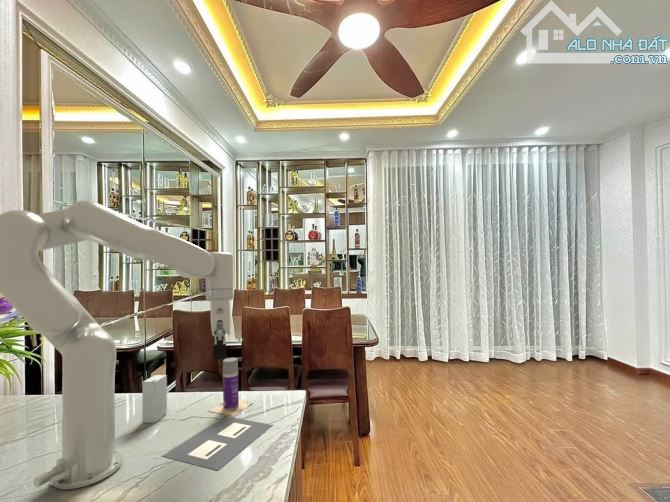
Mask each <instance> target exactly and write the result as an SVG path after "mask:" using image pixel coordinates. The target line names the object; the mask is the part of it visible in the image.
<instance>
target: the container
mask: <svg viewBox="0 0 670 502" xmlns="http://www.w3.org/2000/svg"><path fill="white" fill-rule="evenodd" d="M238 363H239V362H238V358H237V357H228V358H227V357H226V358H225V359H222V396H223V397H222V399H223V402H222V403H223V408H224V409H225V410H233V409H236V408H237V407H238V406H239V399H240V398H239V367H238V366H239V365H238Z"/></svg>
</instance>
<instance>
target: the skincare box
mask: <svg viewBox="0 0 670 502" xmlns="http://www.w3.org/2000/svg"><path fill="white" fill-rule="evenodd" d="M167 376H168V375H167V374H157V375H156V374H154V375H152V376H151V377H149V378H147V379H145V380H143V381H142V398H141V399H142V409H141V410H142V415H141V417H142V418H141V420H142V422H141V423H143V424H144V423H145V424H146V423H147V424H150V423H151V424H153V423H157V422H158V421H159V420H160V419H162V418H163V417H164V416H166V414H167V413H168V407H167V406H168V401H167V400H168V392H167V391H168V387H167V386H168V380H167V379H168V377H167Z"/></svg>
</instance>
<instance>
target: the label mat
mask: <svg viewBox="0 0 670 502" xmlns="http://www.w3.org/2000/svg"><path fill="white" fill-rule="evenodd" d="M272 426H273V424H271V423H265V422H259V421H253V420H248V419H243V418H237V417H236V418H235V417H233V416H232V417H231V416H228V415H224V416H223V417H221V418H219V419H218V420H216V421H214V422H213V423H212V424H210V425H208V426H207V427H206V428H204V429H202V430H200V431H199V432H198V433H196V434H195V435H193V436H191V437H190V438H188V439H186V440H185V441H183V442H182V443H180V444H178V445H177V446H175V447H174V448H172V449H171V450H169V451H167V452H166V453H164V454H163V455H162V457H164V458H166V459H167V458H168V459H172V460H175V461H179V462H183V463H186V464H191V465H195V466H198V467H202V468H206V469H210V470H213V471H217V472H218V471H219V470H220V469H222V468H223V467H224V466H225V465H227V464H228V463H230V461H231V460H233V459H234V458H235V457H236V456H238V455H239V454H240V453H241V452H242V451H244V450H245V449H246V448H247V447H249V446H250V445H251V444H252V443H253V442H255V441H256V440H257V439H258V438H260V437H261V435H263V434H264V433H265V432H267V431H268V430H269V429H270V428H271V427H272Z"/></svg>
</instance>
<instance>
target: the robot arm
mask: <svg viewBox="0 0 670 502" xmlns="http://www.w3.org/2000/svg"><path fill="white" fill-rule="evenodd" d="M88 240H89V242H94V243H96V244H98V245H101V246H103V247H106V248H108V249H112V250H113V251H116V252H118V253H120V254H123V255H125V256H129V257H131V258H134V259H137V260H141V261H148V262H152V263H153V262H154V263H158V264H161V265H163V266H167V267H169V268H173V269H174V271H175V272H176V274H178V275H179V276H180V277H182V278H186V279H204V278H205V301H207V302H210V305H209V306H210V327H211V335H212V337H214V338H213V360H214V361H216V360H224V359H227V342H226V335H227V336H230V335H231V305H230V301H232V300H234V257H233V254H232V253H231V252H225V251H224V252H223V251H215V252H213V251H212V252H209V251H207V250H206V249H203V248H201V247H200V246H199V245H195V244H193V243H191V242H189V241H187V240H185V239H182V238H179V237H177V236H175V235H171V234H169V233H166V232H164V231H161V230H158V229H156V228H153V227H150V226H147V225H145V224H143V223H141V222H138V221H137V220H135V219H132V218H130V217H128V216H126V215H124V214H122V213H120V212H118V211H115V210H113V209H112V208H109V207H106V206H104V205H102V204H100V203H98V202H94V201H91V200H88V199H87V200H83V199H82V200H78V201H75V202H74V203H72V204H71V205H69V206H68V207H67V208H64V209H60V210H59V209H58V210H54V211H49V212H42V213H37V214H36V213H34V212H32V211H28V210H24V209H21V210H20V209H15V210H14V209H13V210H9V211H4V212H3V213H1V214H0V294H1V295H2V296H3V298H5V300H6V301H7V302H8V303H9V304H10V305H11V306H12V307H13V308H14V309H15V311H17V312H18V313H19V315H20V316H22V318H23V319H24V320H25V321H26V323H27V325H28V326H29V328H31V330H33V331H35V332H36V333H39V334H41V335H42V336H43V337H44V338H45V339H46V340H47V341H48V342H49V343H50V344H51V345H52V346H53V347H54V349H56V350H57V351H58V352H59V353H60V354H61V357H62V358H61V359H62V363H61V364H62V381H61V383H62V387H61V389H62V390H61V391H62V392H61V397H62V398H61V403H62V404H61V409H62V412H61V415H62V416H61V418H62V421H61V422H62V423H61V424H62V425H61V426H62V427H61V439H62V440H61V441H62V442H61V446H62V447H61V452H62V453H61V458H59V459H57V460H56V461H55V462H56V465H55V466H53V467H52V468H51V470H48V471H46V472H44V473H42V474H40V475H38V476H35V477H34V478H33V485H34V487H35V488H39V487H42V486H43V485H45V484H46V483H49V485H50V486H53V487H55V488H56V489H59V490H74V489H80V488H84V487H86V486H87V487H88V486H91V485H93V484H96V483H98V482H101V481H102V480H104V479H106V478H107V477H109V476H111V475H113V474H114V473H115V472H116V471H117V470H118V469H120V467H121V466H122V465H123V461H124V456H123V454H122V453H121V452H119V451H116V448H115V447H116V445H115V444H116V441H115V440H116V439H115V438H116V436H115V435H116V434H115V433H116V432H115V431H116V426H115V425H116V419H115V418H116V416H115V415H116V412H115V411H116V405H115V400H116V398H115V395H116V394H115V387H116V385H115V379H116V377H115V375H116V364H117V347H116V343H115V340H114V339H113V337H112V335H110V333H109V332H107V331H106V330H104V328H103V327H102V326H101V325H100V324H99V323H98V321H96V319H94V318H93V316H92V315H91V314H90V313H89V312H88V311H87V309H85V307H84V306H83V305H82V304H81V303H80V301H79V300H78V299H77V297H76V296H74V294H72V293H70V292H69V291H68V290H67V289H66V288H65V287H64V286H63V285H62V284H61V283H60V282H59V281H58V280H57V278H56V277H55V276H54V275H53V274H52V273H51V271H50V270H49V269H48V268H47V267H46V265H45V264H44V263H43V261H42V260H41V257H40V254H39V252H41V251H45V250H49V249H50V250H51V249H54V248H59V247H62V246H63V247H65V246H68V245H72V244H76V243H80V242H83V241H84V242H85V241H88Z"/></svg>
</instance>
